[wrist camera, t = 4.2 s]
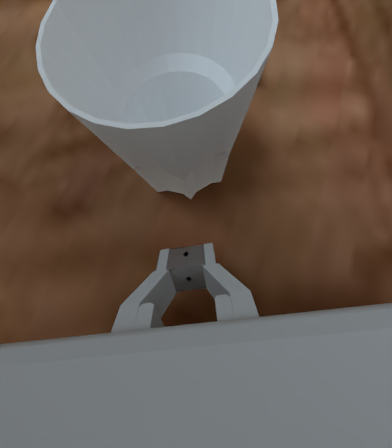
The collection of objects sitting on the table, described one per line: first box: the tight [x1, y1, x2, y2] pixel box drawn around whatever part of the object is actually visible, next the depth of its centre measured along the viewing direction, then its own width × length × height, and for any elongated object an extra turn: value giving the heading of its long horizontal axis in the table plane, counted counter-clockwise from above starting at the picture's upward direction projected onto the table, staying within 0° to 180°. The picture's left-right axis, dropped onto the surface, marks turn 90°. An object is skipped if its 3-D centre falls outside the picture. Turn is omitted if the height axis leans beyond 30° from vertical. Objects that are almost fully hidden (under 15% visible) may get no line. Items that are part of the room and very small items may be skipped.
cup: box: [36, 0, 278, 199], centre depth 12 cm, size 10×10×10 cm
